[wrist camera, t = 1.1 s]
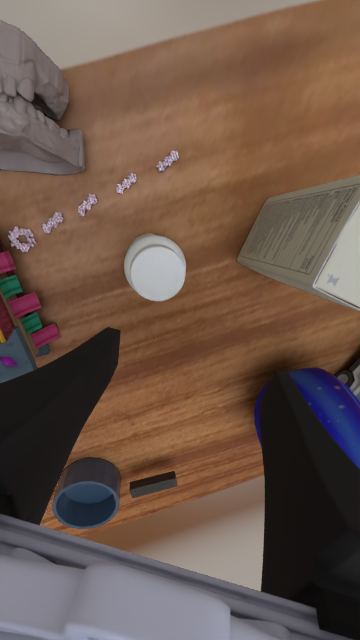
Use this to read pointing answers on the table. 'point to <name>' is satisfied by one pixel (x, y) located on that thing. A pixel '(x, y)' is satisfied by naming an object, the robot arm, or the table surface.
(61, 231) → the table surface
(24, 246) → the pink molecule models
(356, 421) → the ornament
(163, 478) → the dark grey rectangular bar
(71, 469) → the dark grey open cylinder
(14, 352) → the decorative book
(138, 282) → the pill bottle
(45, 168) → the dental mold
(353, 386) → the toy car
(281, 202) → the cosmetic box
